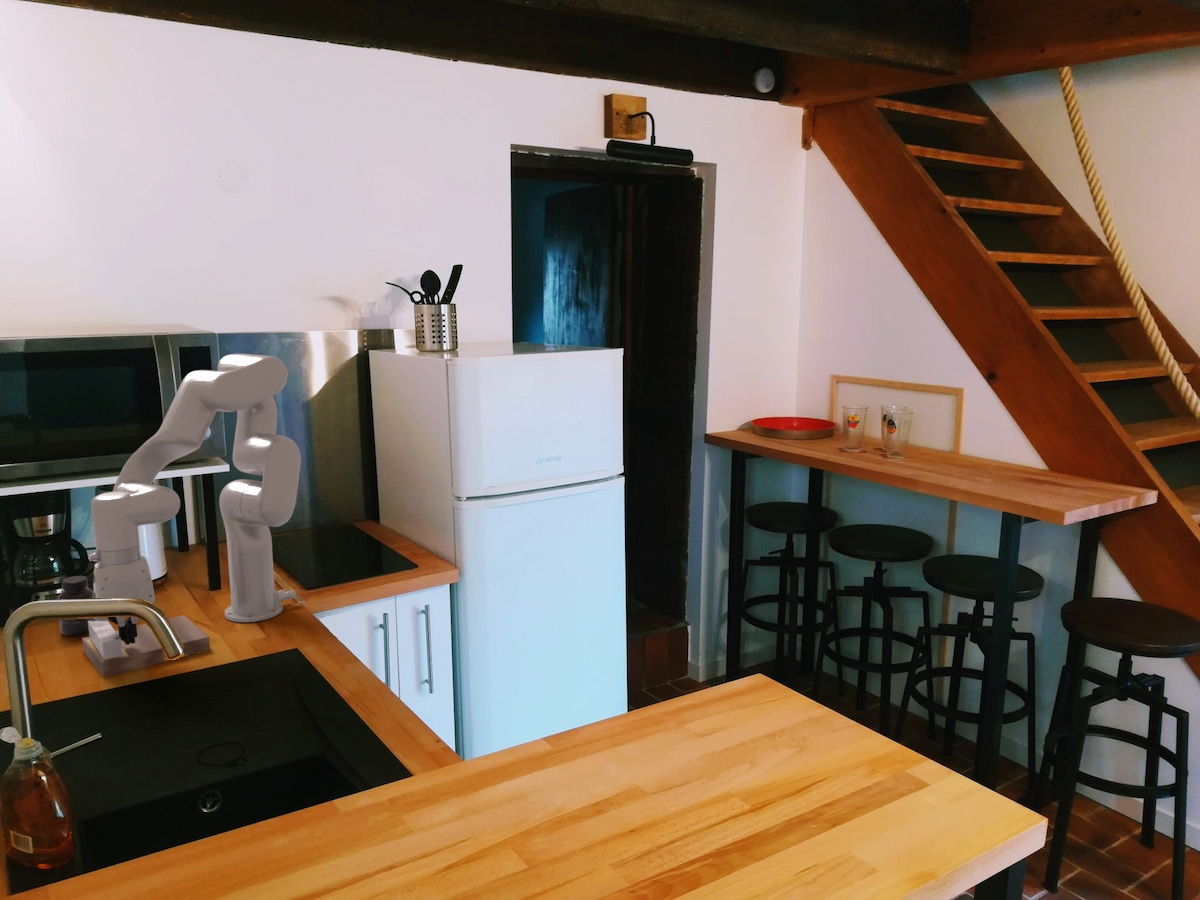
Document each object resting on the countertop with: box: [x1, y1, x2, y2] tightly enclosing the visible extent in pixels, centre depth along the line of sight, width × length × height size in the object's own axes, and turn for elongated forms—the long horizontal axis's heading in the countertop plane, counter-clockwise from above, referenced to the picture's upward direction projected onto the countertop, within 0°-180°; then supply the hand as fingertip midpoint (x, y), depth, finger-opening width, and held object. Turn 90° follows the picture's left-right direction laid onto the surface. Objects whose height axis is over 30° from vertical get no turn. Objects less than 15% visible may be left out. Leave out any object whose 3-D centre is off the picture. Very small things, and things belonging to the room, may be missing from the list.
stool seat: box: [81, 614, 211, 678], centre depth 183 cm, size 20×16×3 cm
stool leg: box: [88, 618, 122, 660], centre depth 177 cm, size 16×3×4 cm, turn 40°
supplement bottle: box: [57, 575, 94, 637], centre depth 193 cm, size 7×7×12 cm
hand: (128, 641), depth 177 cm, fingers closed
